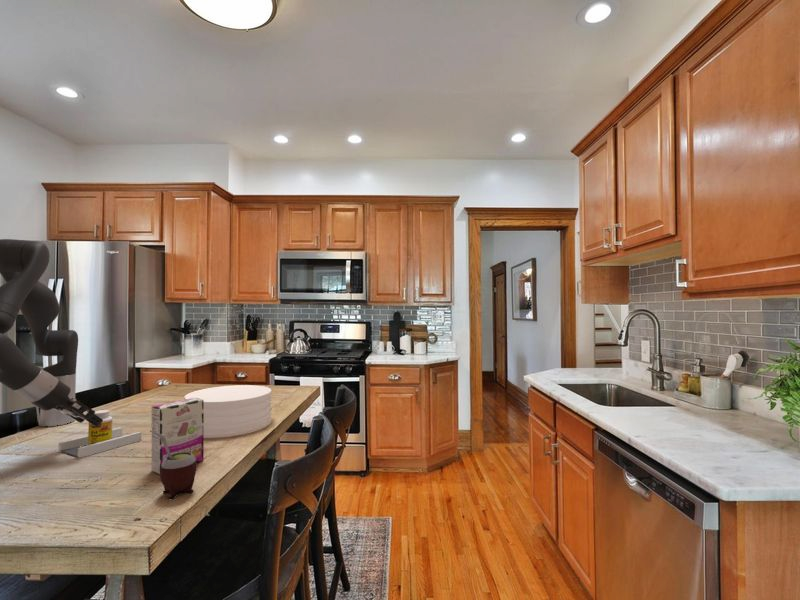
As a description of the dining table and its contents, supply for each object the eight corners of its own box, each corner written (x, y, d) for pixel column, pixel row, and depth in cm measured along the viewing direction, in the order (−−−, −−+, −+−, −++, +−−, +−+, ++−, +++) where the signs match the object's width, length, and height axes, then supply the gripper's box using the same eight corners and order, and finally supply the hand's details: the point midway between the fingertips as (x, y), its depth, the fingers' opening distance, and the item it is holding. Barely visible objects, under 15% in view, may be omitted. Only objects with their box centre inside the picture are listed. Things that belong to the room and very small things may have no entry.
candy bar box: (193, 457, 104) (194, 396, 105) (204, 460, 102) (205, 399, 102) (149, 471, 95) (150, 405, 95) (159, 476, 92) (161, 408, 93)
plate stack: (283, 415, 147) (283, 385, 147) (247, 439, 119) (247, 402, 119) (214, 413, 150) (215, 384, 150) (163, 436, 122) (164, 400, 122)
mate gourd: (202, 485, 87) (203, 419, 88) (183, 502, 79) (185, 430, 80) (169, 485, 87) (170, 419, 88) (147, 502, 79) (148, 430, 80)
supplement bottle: (86, 450, 109) (87, 415, 109) (89, 445, 114) (90, 410, 114) (111, 447, 112) (111, 412, 112) (112, 441, 117) (113, 408, 117)
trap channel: (79, 458, 103) (80, 448, 104) (58, 451, 108) (58, 442, 108) (141, 440, 118) (141, 432, 118) (120, 435, 123) (120, 427, 123)
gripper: (68, 379, 100) (115, 413, 110) (42, 375, 107) (89, 407, 117) (42, 404, 95) (94, 436, 105) (16, 398, 102) (67, 430, 112)
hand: (91, 421), depth 111 cm, fingers open, 8 cm apart
